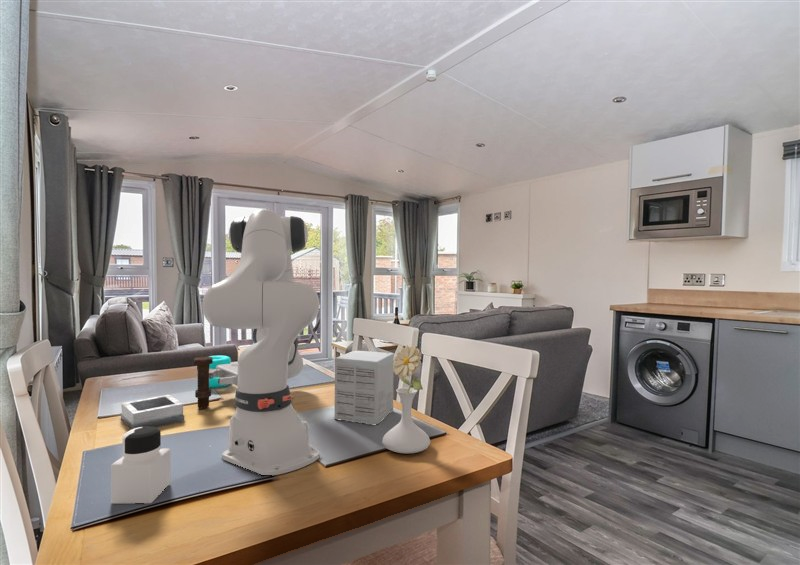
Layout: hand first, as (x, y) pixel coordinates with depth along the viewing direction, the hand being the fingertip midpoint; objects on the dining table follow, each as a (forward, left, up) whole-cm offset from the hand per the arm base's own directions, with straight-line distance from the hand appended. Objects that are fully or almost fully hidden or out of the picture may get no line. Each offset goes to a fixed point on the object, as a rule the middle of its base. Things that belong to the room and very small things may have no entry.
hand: (212, 378), depth 131 cm
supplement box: (-38, -28, -9) cm, 48 cm away
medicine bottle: (-43, +30, -9) cm, 53 cm away
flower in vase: (-63, -20, -9) cm, 67 cm away
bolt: (0, +3, -9) cm, 9 cm away
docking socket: (-1, +17, -8) cm, 19 cm away
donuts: (+23, -10, -9) cm, 27 cm away
